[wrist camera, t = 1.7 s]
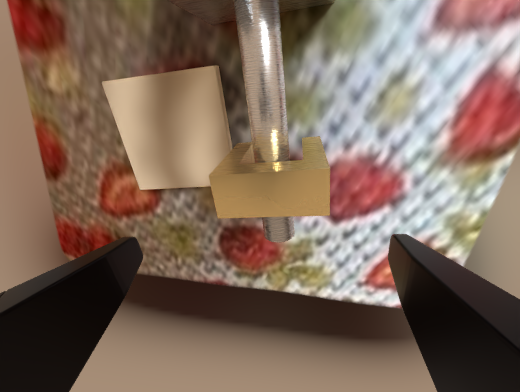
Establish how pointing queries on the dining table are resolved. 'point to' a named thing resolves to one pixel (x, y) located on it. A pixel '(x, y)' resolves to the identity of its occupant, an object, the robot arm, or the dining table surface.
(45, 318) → the robot arm
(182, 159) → the birch pad
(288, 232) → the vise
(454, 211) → the dining table surface
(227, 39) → the dining table surface
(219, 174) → the tan u-shaped bracket
